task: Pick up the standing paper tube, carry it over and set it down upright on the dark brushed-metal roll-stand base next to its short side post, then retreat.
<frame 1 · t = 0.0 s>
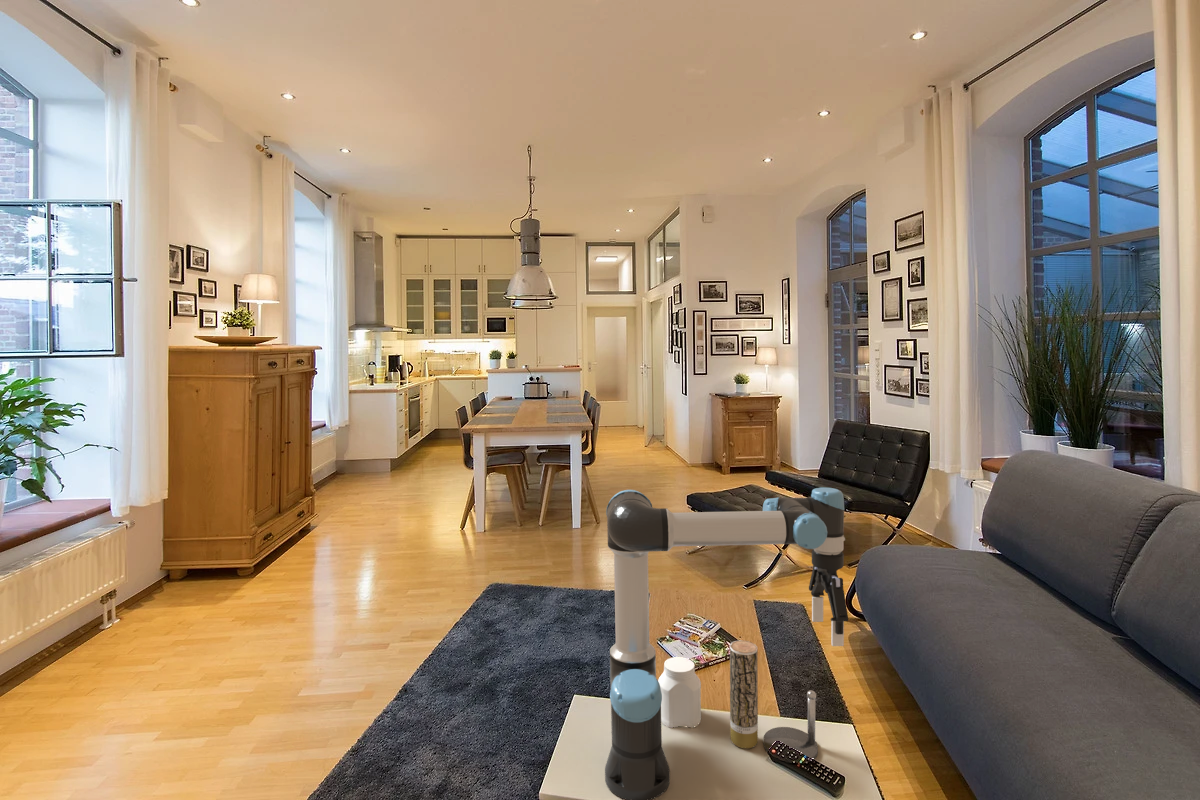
hand: (827, 633, 154), 28 cm above the table, fingers open, 13 cm apart
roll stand: (790, 747, 153), on the table
jar: (679, 718, 166), on the table
paper tube: (744, 742, 155), on the table
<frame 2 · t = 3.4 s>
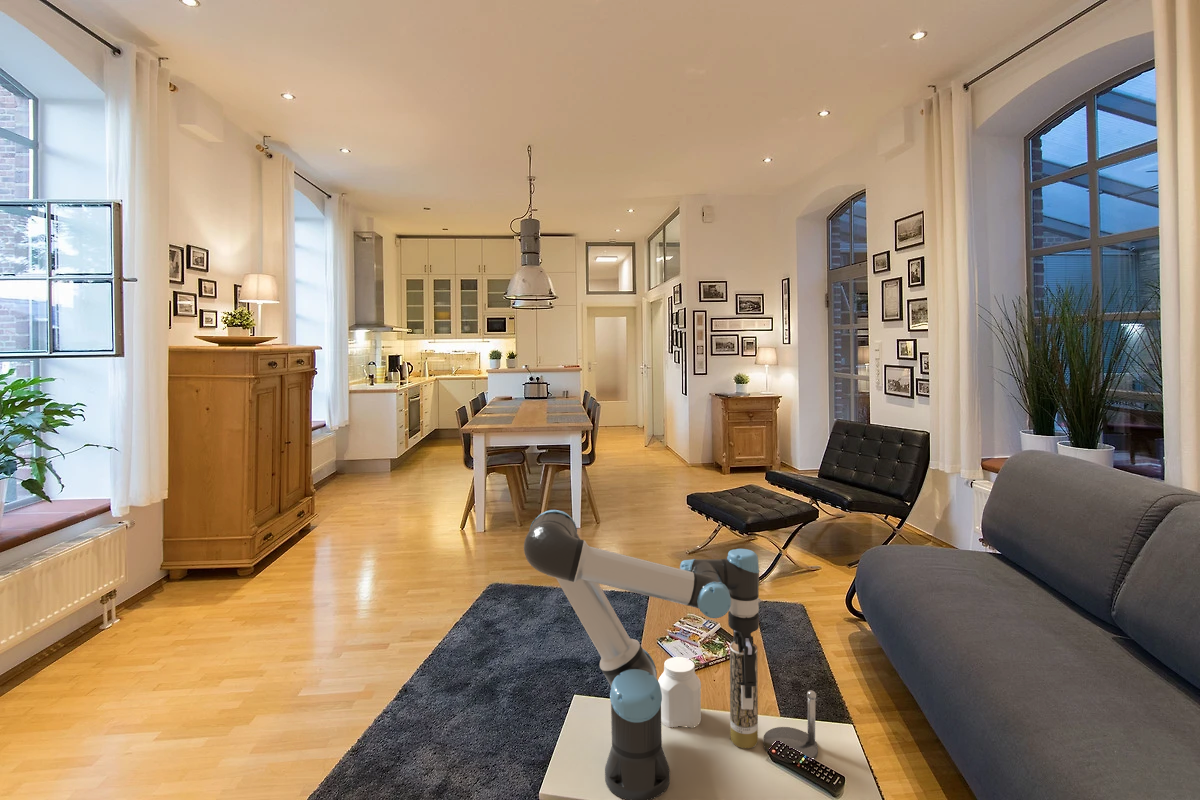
hand: (743, 699, 154), 11 cm above the table, fingers closed on paper tube, 7 cm apart
paper tube: (744, 742, 155), on the table, touching gripper
everything else where it was.
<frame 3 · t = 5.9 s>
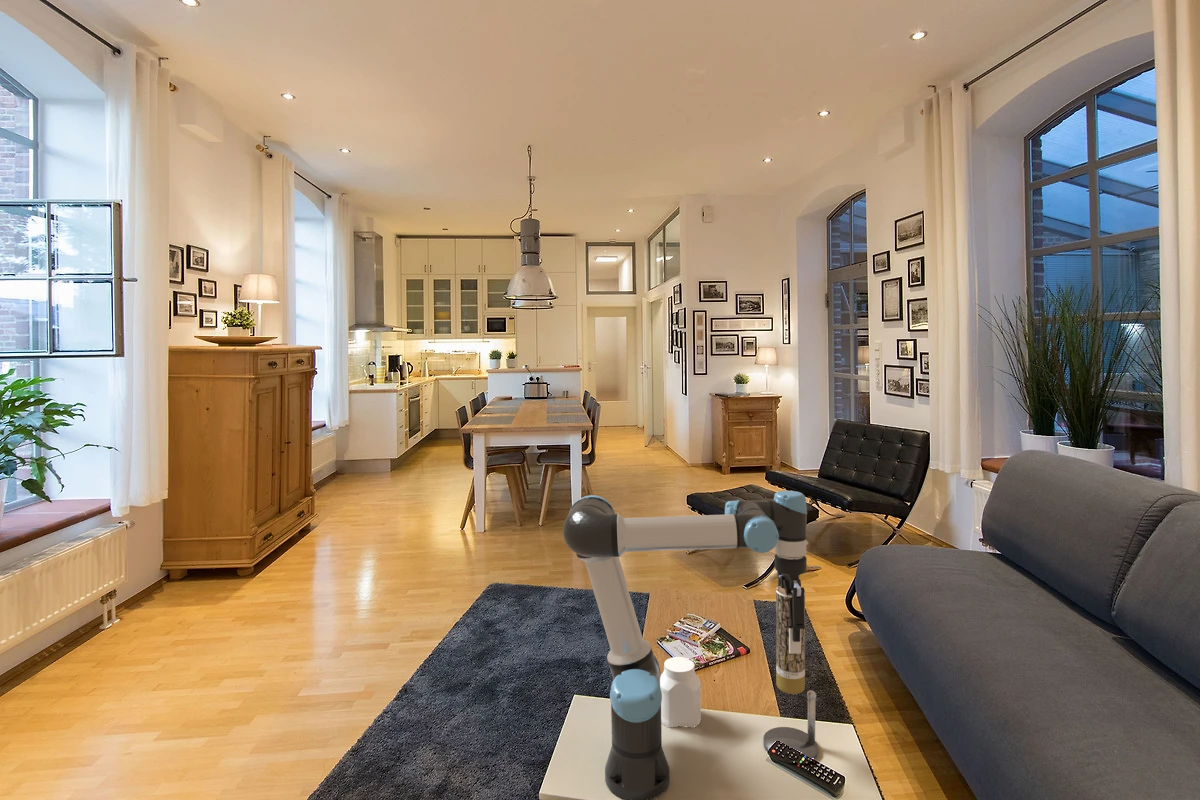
hand: (790, 645, 151), 26 cm above the table, fingers closed on paper tube, 7 cm apart
paper tube: (790, 688, 152), point 15 cm above the table, touching gripper
everything else where it was.
when the fingers open (13 cm above the table, at t = 8.5 s): paper tube drops 1 cm, resting on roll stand.
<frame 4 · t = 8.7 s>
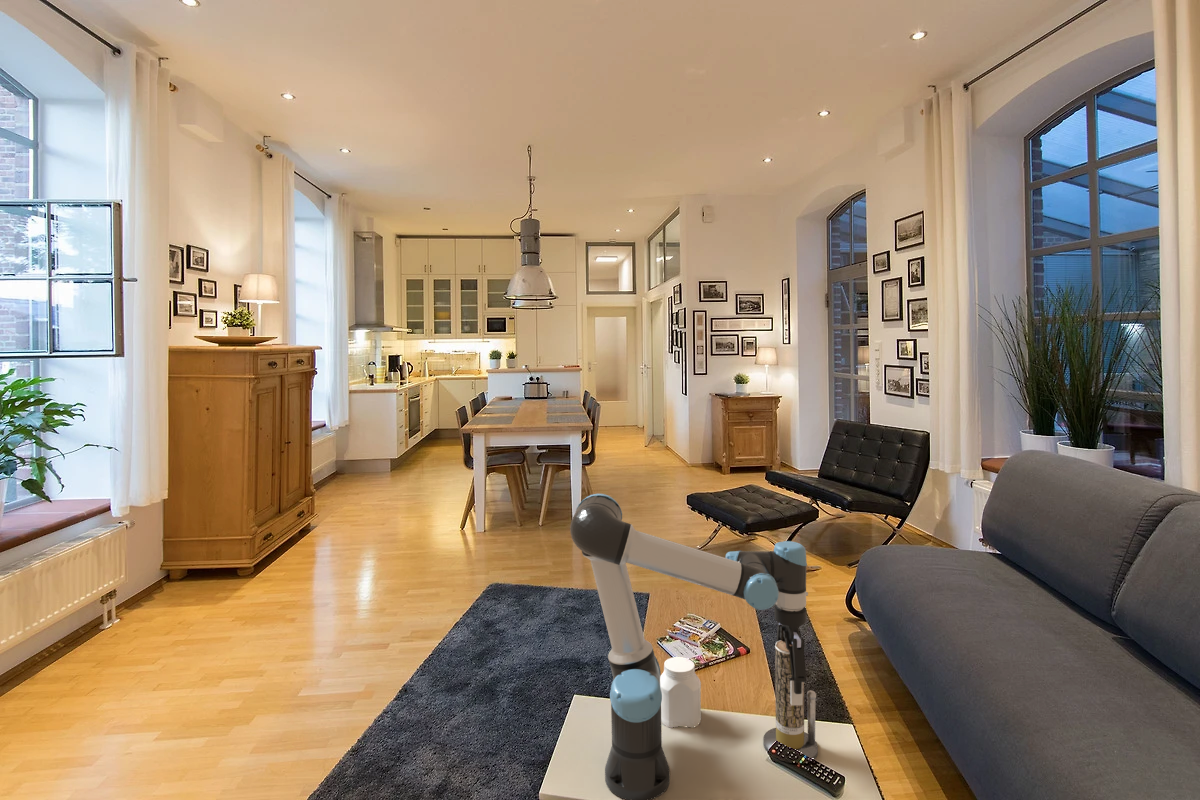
hand: (790, 693, 152), 14 cm above the table, fingers open, 9 cm apart
paper tube: (790, 743, 153), point 1 cm above the table, touching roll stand
everything else where it was.
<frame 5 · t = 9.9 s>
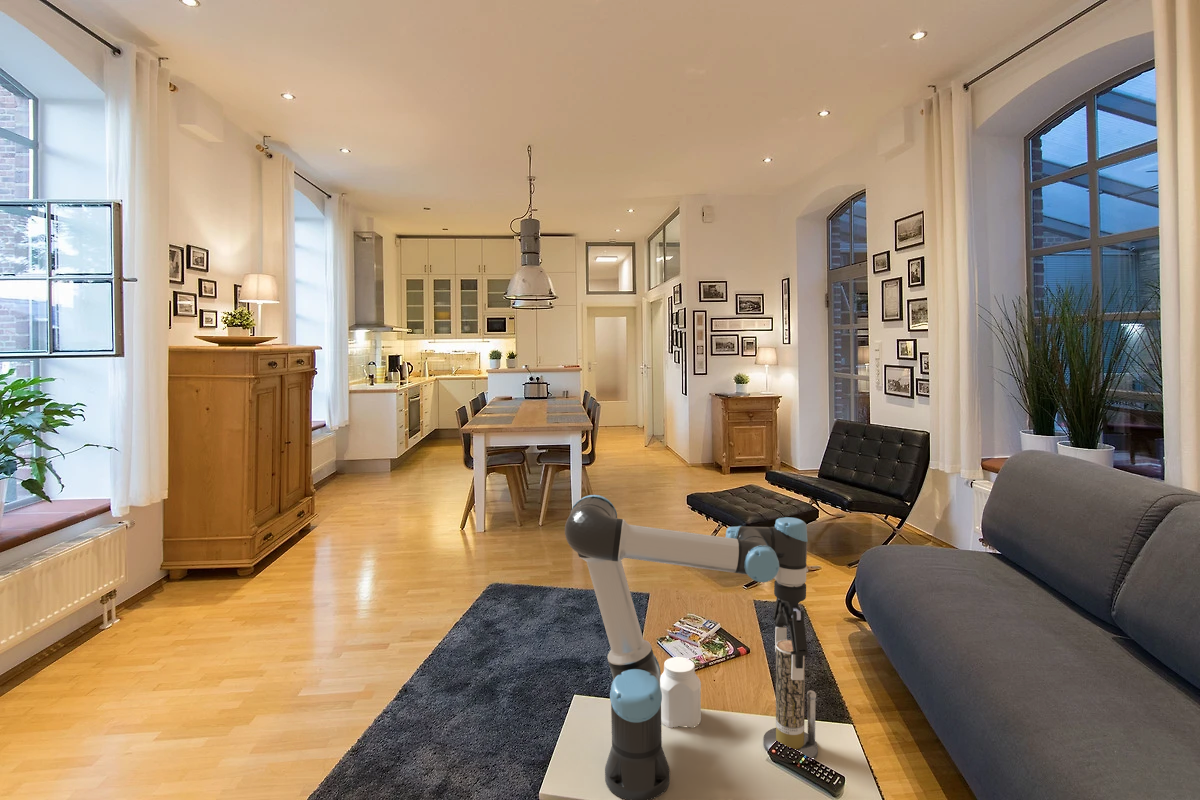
hand: (788, 665, 151), 21 cm above the table, fingers open, 13 cm apart
nothing on the table moved.
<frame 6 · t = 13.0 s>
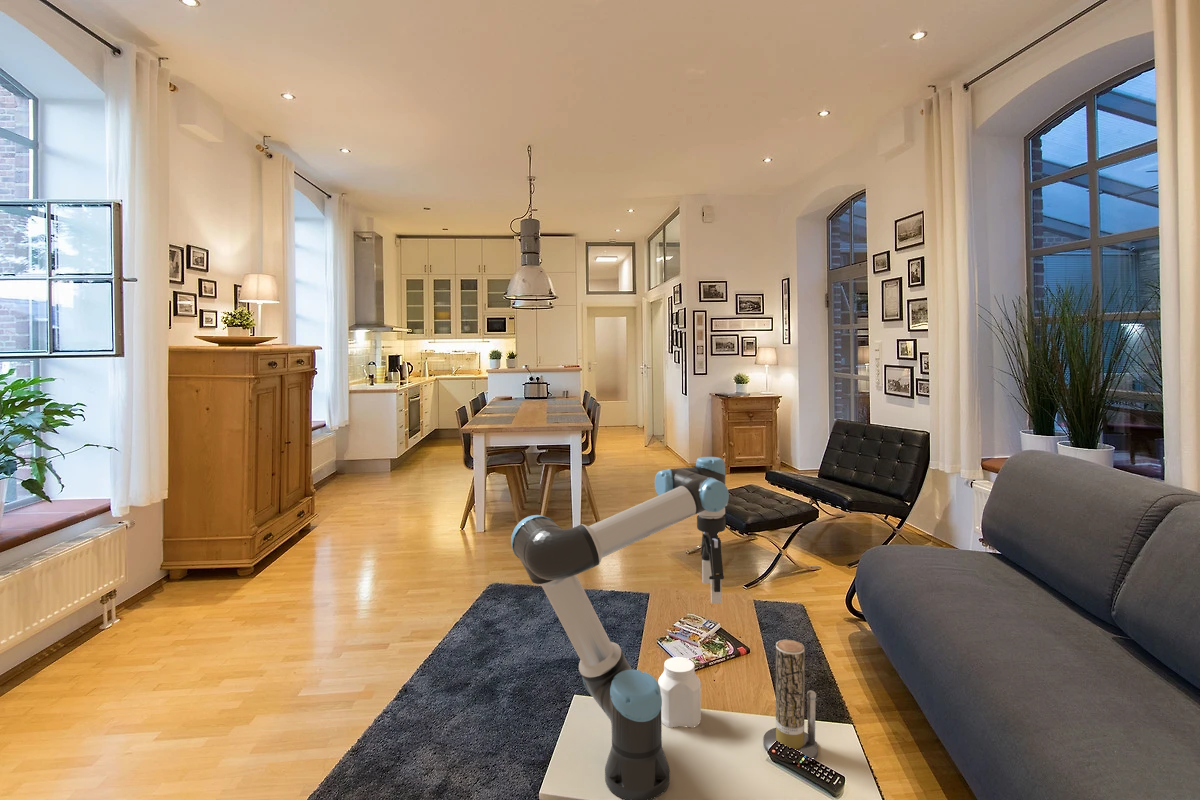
hand: (711, 592, 164), 35 cm above the table, fingers open, 13 cm apart
nothing on the table moved.
at the end: paper tube 0.1 cm from the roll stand (horizontally); paper tube tilted 0°; paper tube point 1.0 cm above the table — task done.
